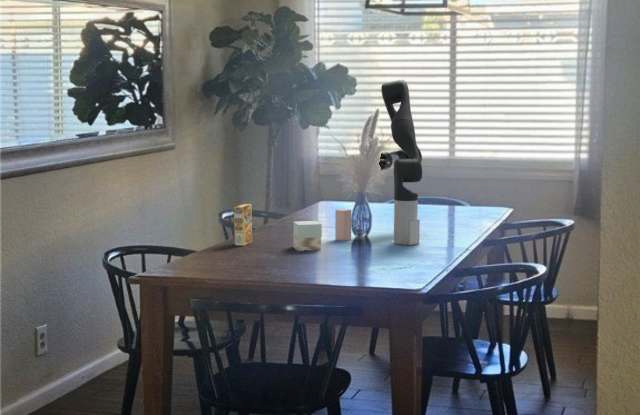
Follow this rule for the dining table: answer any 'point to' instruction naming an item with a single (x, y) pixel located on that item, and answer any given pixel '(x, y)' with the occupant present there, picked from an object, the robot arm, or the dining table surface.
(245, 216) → the candy box
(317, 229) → the tower top
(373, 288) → the dining table surface
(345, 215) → the pillar block
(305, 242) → the tower base
